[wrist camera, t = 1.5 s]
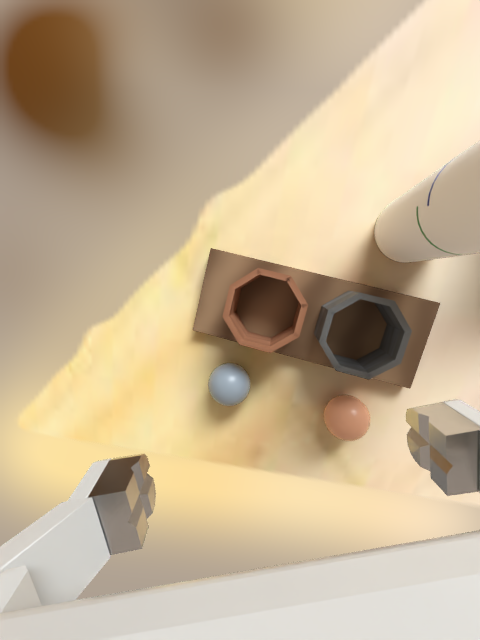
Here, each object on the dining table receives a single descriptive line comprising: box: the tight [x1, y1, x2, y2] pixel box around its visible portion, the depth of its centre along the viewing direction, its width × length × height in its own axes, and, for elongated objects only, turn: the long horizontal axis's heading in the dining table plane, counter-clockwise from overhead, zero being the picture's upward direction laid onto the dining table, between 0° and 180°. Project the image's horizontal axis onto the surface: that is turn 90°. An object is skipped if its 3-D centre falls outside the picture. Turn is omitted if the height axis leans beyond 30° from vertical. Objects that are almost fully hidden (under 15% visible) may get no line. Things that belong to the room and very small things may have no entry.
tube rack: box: [193, 248, 440, 388], centre depth 33 cm, size 26×10×6 cm, turn 75°
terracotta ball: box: [324, 395, 370, 441], centre depth 35 cm, size 5×5×5 cm
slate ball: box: [208, 363, 250, 406], centre depth 36 cm, size 5×5×5 cm
